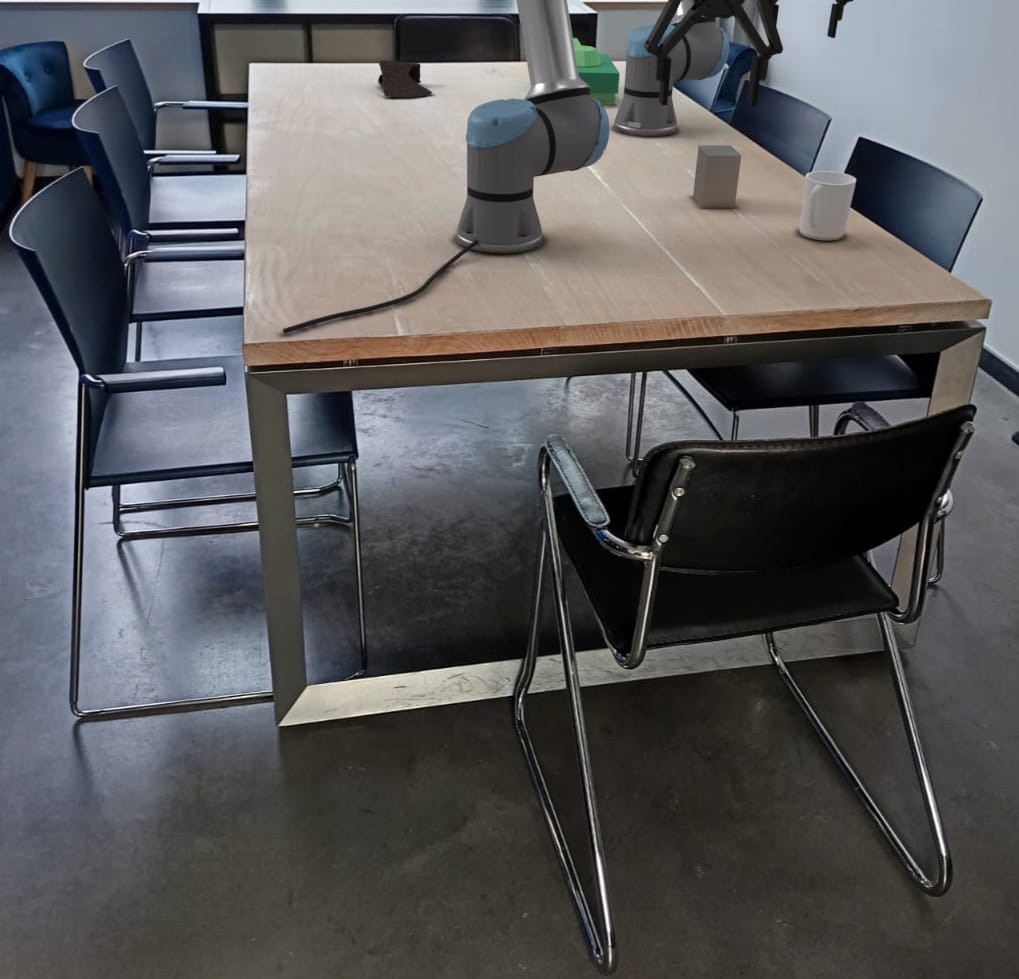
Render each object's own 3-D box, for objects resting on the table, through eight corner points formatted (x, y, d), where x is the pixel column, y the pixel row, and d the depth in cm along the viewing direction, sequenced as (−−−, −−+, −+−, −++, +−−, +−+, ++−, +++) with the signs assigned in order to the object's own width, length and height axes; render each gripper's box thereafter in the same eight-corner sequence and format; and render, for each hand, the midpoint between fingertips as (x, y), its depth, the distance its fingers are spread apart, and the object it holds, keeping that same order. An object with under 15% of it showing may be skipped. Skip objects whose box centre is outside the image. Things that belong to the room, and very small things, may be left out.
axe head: (443, 87, 294) (392, 77, 287) (436, 115, 299) (385, 106, 292) (421, 62, 307) (371, 52, 300) (414, 89, 311) (365, 80, 304)
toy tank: (604, 35, 312) (620, 58, 282) (601, 80, 318) (617, 107, 288) (542, 33, 311) (552, 56, 281) (541, 79, 317) (550, 106, 288)
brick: (734, 207, 215) (741, 155, 210) (702, 208, 215) (708, 155, 209) (724, 196, 222) (730, 145, 217) (692, 196, 221) (698, 145, 216)
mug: (809, 222, 208) (818, 168, 202) (854, 233, 203) (864, 177, 197) (782, 236, 200) (791, 180, 195) (827, 247, 195) (838, 190, 190)
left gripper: (802, -56, 157) (780, 97, 168) (631, -58, 155) (620, 97, 166) (820, -50, 151) (795, 108, 162) (642, -53, 149) (630, 109, 160)
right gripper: (867, -74, 231) (849, 34, 242) (753, -75, 228) (740, 34, 239) (882, -71, 224) (862, 39, 235) (765, -72, 221) (751, 40, 232)
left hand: (707, 103), depth 164 cm, fingers open, 13 cm apart
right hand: (801, 37), depth 237 cm, fingers open, 13 cm apart
